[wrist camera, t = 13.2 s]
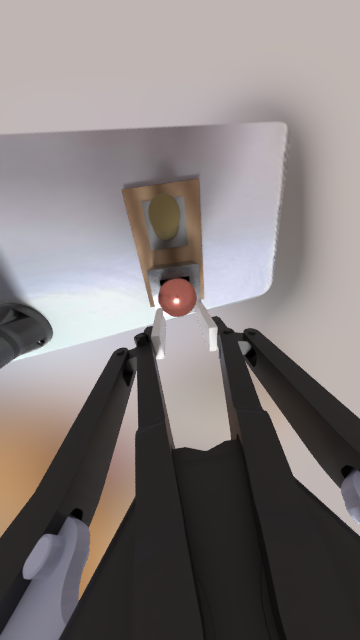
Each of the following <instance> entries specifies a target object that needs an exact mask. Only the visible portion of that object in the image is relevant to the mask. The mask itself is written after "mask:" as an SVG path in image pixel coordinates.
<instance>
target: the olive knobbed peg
mask: <svg viewBox="0 0 360 640" xmlns="http://www.w3.org/2000/svg"><path fill="white" fill-rule="evenodd" d="M148 216H149V220H150V223H151V225H152V226H153V230H154V233H155V234H156V236H157V237H158V238H160V239H161V240H164V241H169V240H172V239H173V238H174V237H175V236H176V235H177V233H178V230H179V221H180V209H179V205H178V204H177V202H176V200H175V199H174V198H173V197H172V196H171V195H168V194H166V193H160V194H158V195H156V196H155V197H154V198H153V199H152V200H151V202H150V204H149V208H148Z"/></svg>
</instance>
